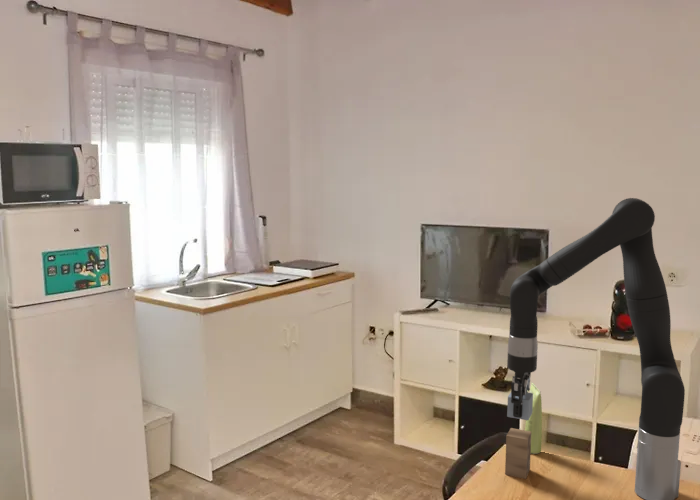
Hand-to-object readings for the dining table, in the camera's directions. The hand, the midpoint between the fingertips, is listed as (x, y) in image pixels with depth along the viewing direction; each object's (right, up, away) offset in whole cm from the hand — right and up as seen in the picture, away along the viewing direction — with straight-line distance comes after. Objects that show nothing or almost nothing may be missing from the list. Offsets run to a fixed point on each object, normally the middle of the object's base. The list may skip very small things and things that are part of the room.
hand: (519, 412), depth 168 cm
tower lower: (0, -17, +2) cm, 17 cm away
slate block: (0, -1, 0) cm, 1 cm away
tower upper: (0, -11, +2) cm, 11 cm away
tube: (+8, -15, +15) cm, 23 cm away
